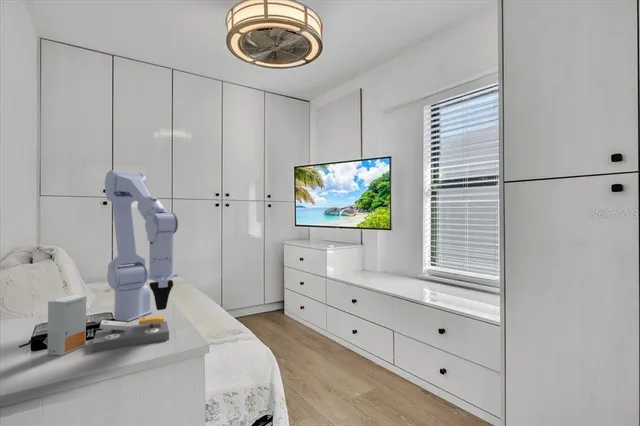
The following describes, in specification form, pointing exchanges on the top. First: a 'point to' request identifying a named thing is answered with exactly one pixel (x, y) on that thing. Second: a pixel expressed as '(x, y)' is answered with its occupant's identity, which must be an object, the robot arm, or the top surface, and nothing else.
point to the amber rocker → (150, 320)
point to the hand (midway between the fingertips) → (161, 309)
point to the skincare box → (66, 324)
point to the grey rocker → (113, 325)
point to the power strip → (130, 336)
